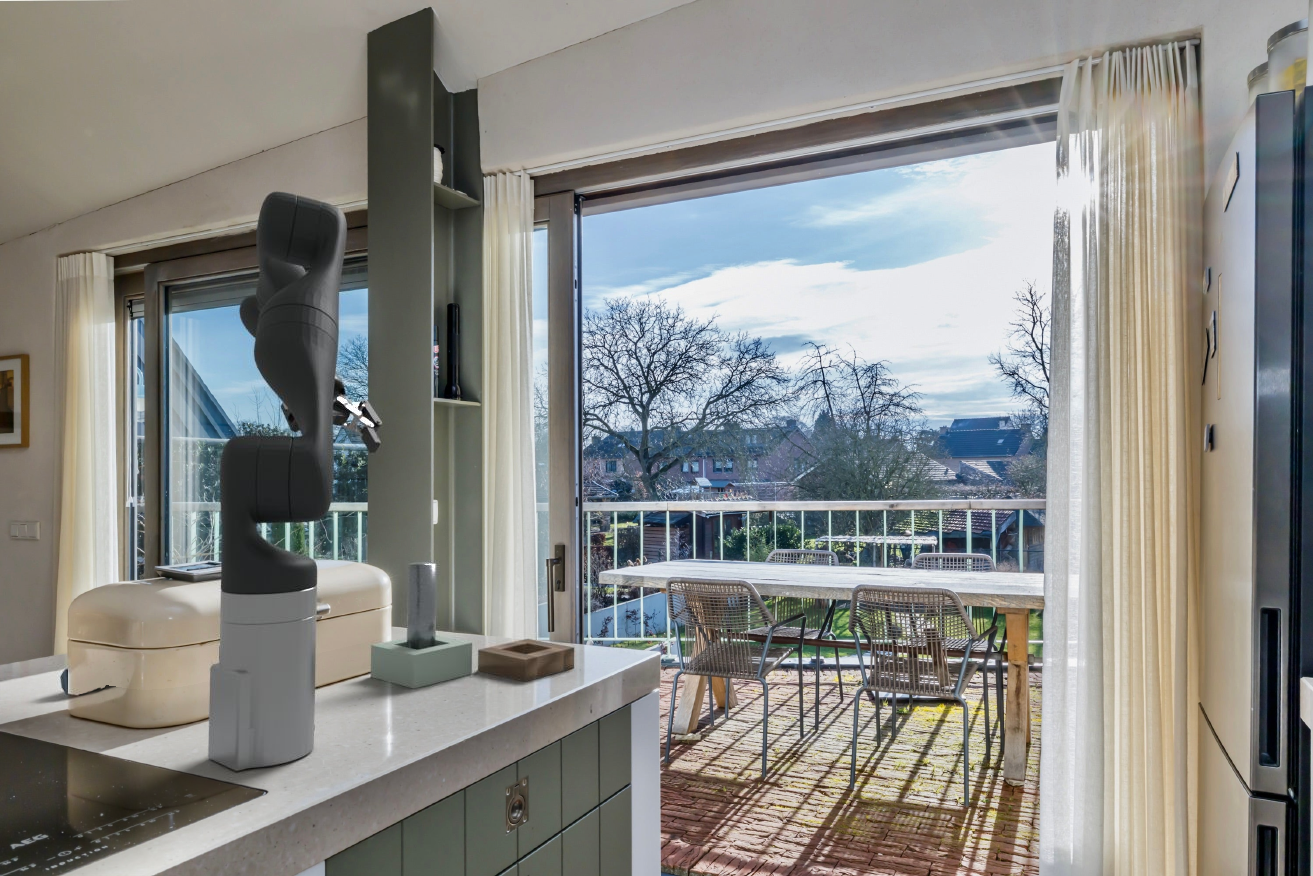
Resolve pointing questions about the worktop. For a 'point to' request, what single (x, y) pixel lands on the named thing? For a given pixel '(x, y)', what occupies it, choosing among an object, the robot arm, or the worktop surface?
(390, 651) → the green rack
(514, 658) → the walnut socket
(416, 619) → the ball
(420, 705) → the worktop surface
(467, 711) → the worktop surface
